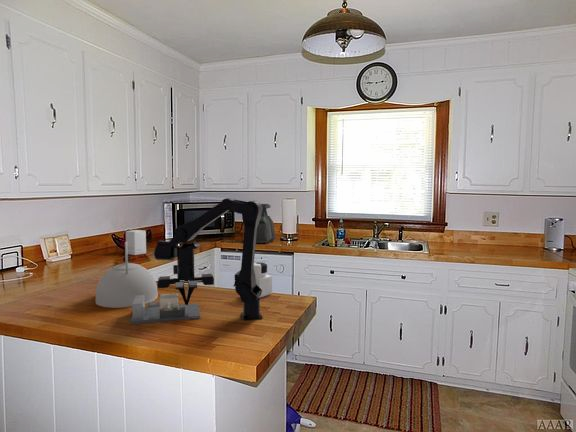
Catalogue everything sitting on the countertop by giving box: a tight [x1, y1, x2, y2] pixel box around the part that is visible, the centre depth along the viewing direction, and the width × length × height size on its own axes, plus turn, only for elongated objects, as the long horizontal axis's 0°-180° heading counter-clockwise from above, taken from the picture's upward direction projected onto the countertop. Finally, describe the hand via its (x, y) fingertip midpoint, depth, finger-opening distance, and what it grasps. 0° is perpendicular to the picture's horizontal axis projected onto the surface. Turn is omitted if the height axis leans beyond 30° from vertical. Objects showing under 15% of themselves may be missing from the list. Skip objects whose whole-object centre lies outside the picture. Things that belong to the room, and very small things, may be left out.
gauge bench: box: [129, 295, 201, 325], centre depth 134 cm, size 14×22×6 cm, turn 106°
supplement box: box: [125, 229, 147, 256], centre depth 249 cm, size 9×9×15 cm
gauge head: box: [147, 293, 180, 309], centre depth 132 cm, size 10×10×5 cm
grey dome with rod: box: [95, 241, 159, 309], centre depth 153 cm, size 25×23×23 cm
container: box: [254, 261, 273, 299], centre depth 159 cm, size 8×8×13 cm
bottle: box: [256, 203, 277, 244], centre depth 301 cm, size 18×16×30 cm
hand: (186, 304), depth 136 cm, fingers closed
